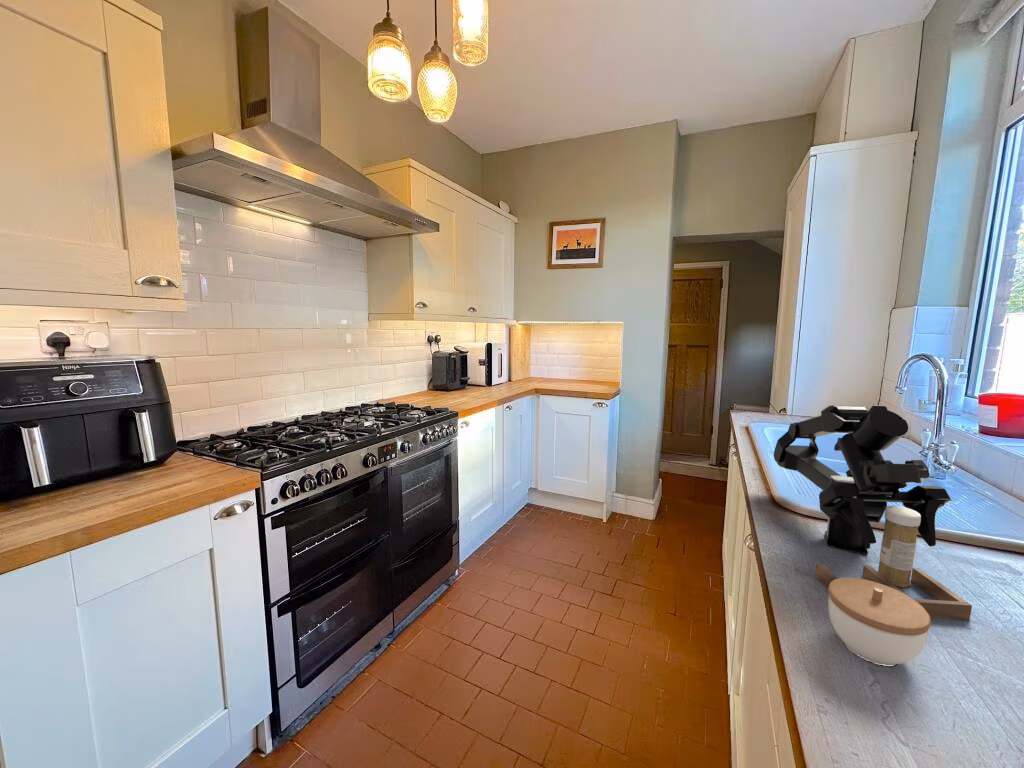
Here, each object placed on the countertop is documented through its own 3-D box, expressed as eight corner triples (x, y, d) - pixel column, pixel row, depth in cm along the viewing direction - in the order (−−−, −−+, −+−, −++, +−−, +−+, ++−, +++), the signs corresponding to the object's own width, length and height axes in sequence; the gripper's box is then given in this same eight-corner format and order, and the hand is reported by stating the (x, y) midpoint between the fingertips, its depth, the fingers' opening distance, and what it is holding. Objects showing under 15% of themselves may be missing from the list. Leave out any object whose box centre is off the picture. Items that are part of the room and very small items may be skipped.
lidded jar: (807, 635, 62) (813, 577, 60) (850, 614, 66) (856, 560, 65) (895, 693, 52) (905, 627, 51) (939, 664, 56) (949, 602, 55)
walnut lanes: (814, 574, 76) (815, 562, 76) (916, 580, 74) (918, 568, 74) (850, 612, 66) (852, 598, 66) (969, 619, 64) (972, 605, 64)
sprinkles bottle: (875, 570, 77) (884, 502, 75) (908, 578, 75) (918, 508, 72) (877, 582, 74) (887, 511, 72) (912, 592, 71) (923, 519, 69)
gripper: (834, 441, 75) (871, 527, 66) (949, 443, 73) (1004, 533, 64) (805, 467, 84) (834, 546, 75) (907, 469, 82) (950, 552, 73)
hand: (903, 544), depth 71 cm, fingers open, 9 cm apart
